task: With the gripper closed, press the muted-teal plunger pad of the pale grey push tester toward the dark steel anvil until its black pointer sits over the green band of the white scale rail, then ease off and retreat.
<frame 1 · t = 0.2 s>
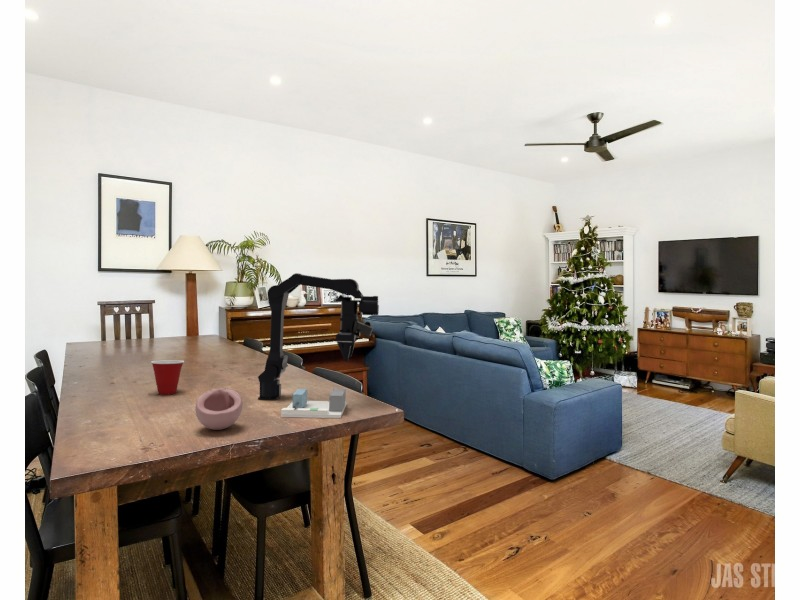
hand: (348, 358, 160), 14 cm above the table, fingers open, 9 cm apart
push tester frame: (315, 410, 145), on the table
plastic cup: (167, 393, 164), on the table
plunger: (298, 400, 143), point 4 cm above the table, slide at 0.0 cm
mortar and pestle: (219, 429, 125), on the table
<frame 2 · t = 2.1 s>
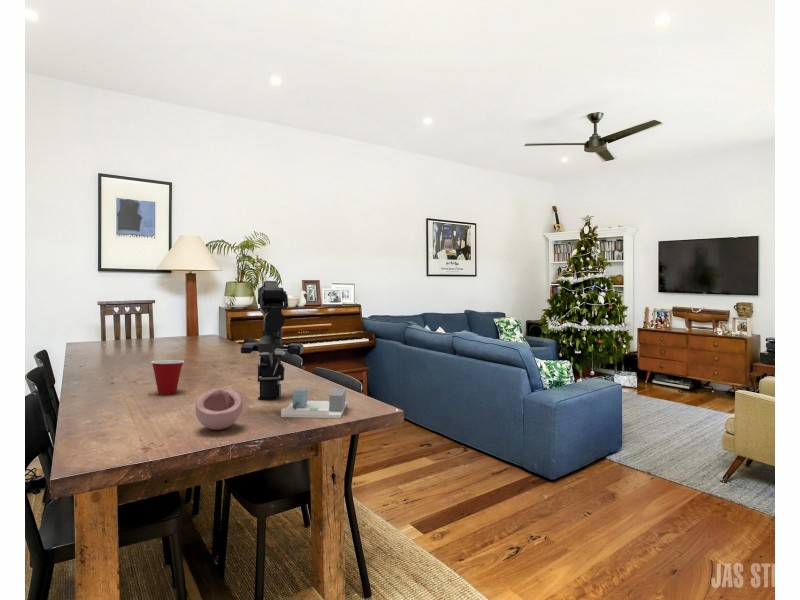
hand: (272, 375, 145), 11 cm above the table, fingers closed
nothing on the table moved.
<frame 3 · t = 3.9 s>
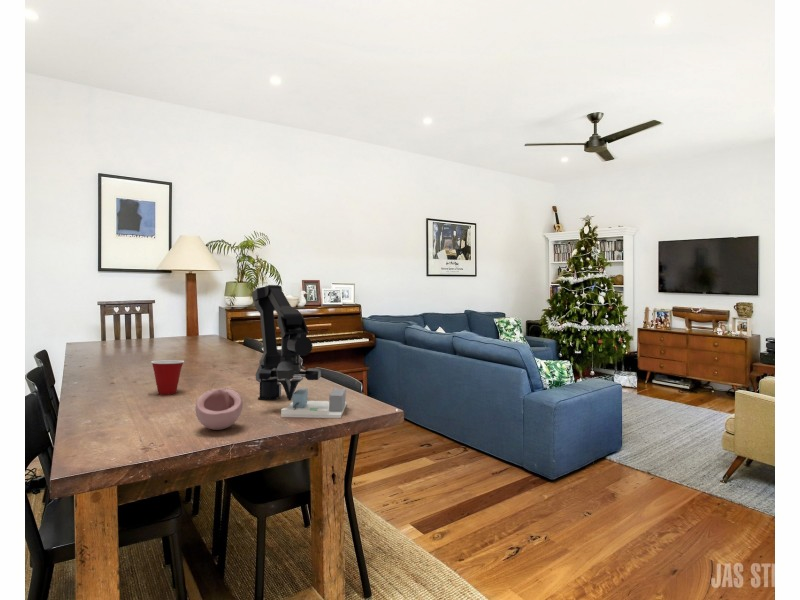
hand: (289, 400, 145), 3 cm above the table, fingers closed
plunger: (298, 400, 143), point 4 cm above the table, slide at 0.1 cm, touching gripper
everything else where it was.
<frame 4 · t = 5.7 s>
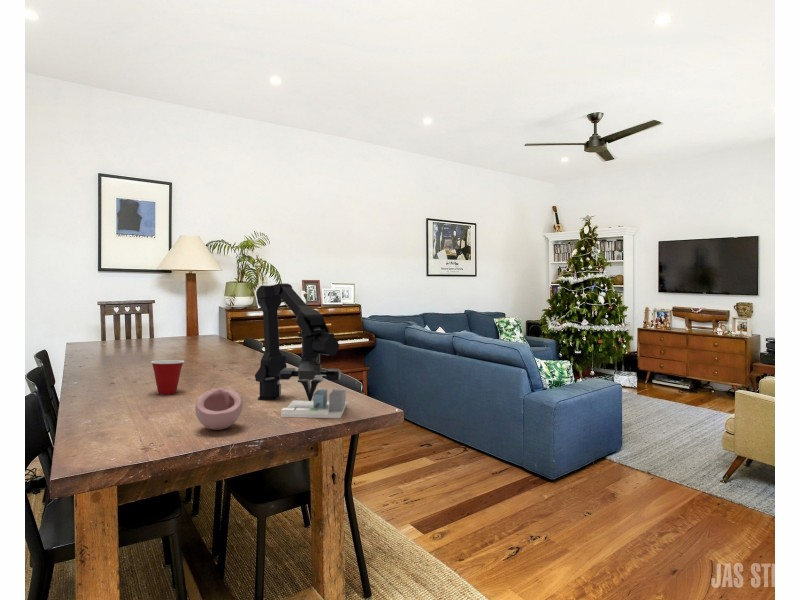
hand: (310, 400, 145), 3 cm above the table, fingers closed
plunger: (319, 400, 143), point 4 cm above the table, slide at 6.5 cm, touching gripper
everything else where it was.
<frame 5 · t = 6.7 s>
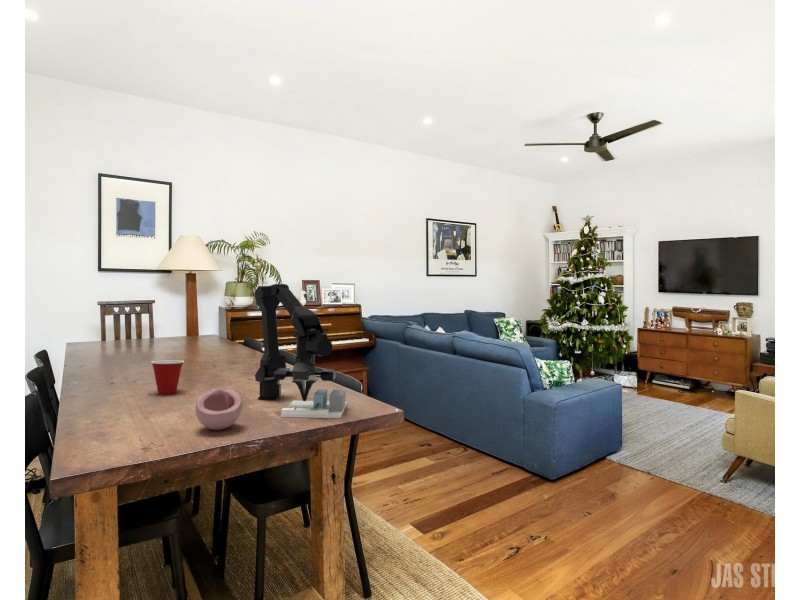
hand: (304, 401, 145), 3 cm above the table, fingers closed
plunger: (319, 400, 143), point 4 cm above the table, slide at 6.5 cm
everything else where it was.
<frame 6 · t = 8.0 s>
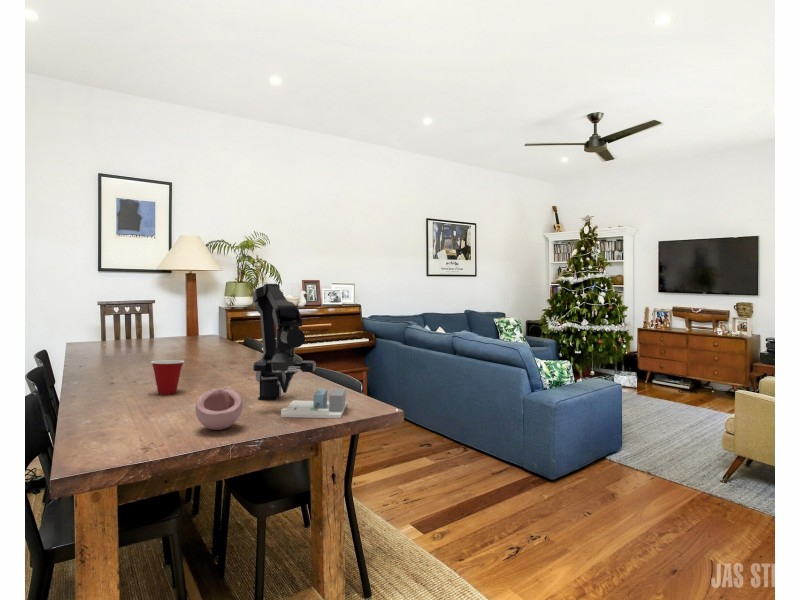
hand: (284, 392, 145), 6 cm above the table, fingers closed
nothing on the table moved.
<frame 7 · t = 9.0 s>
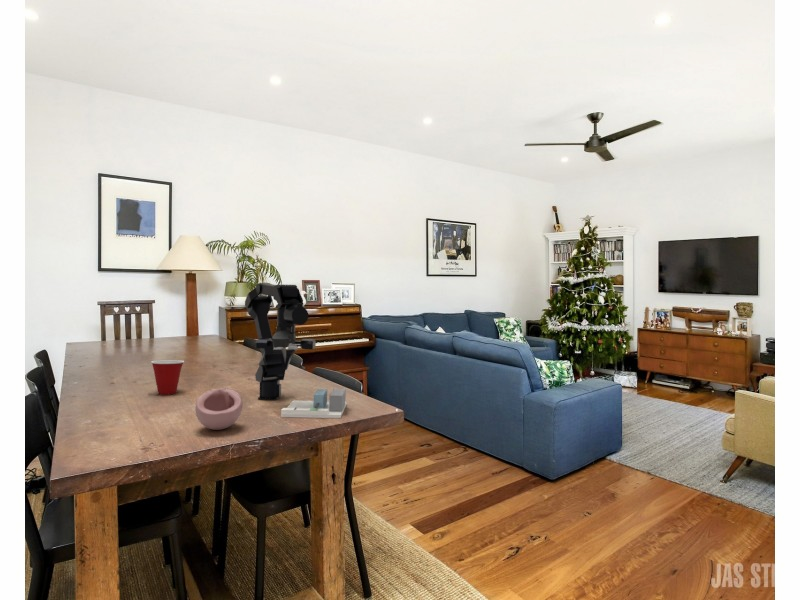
hand: (285, 369, 150), 12 cm above the table, fingers closed
nothing on the table moved.
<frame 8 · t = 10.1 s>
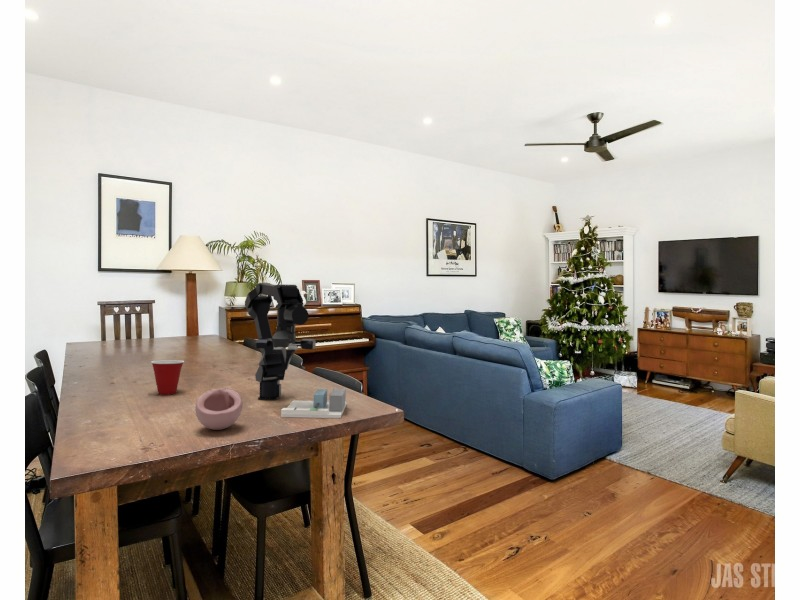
hand: (285, 369, 150), 12 cm above the table, fingers closed
nothing on the table moved.
at the end: plunger slide at 6.5 cm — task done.
